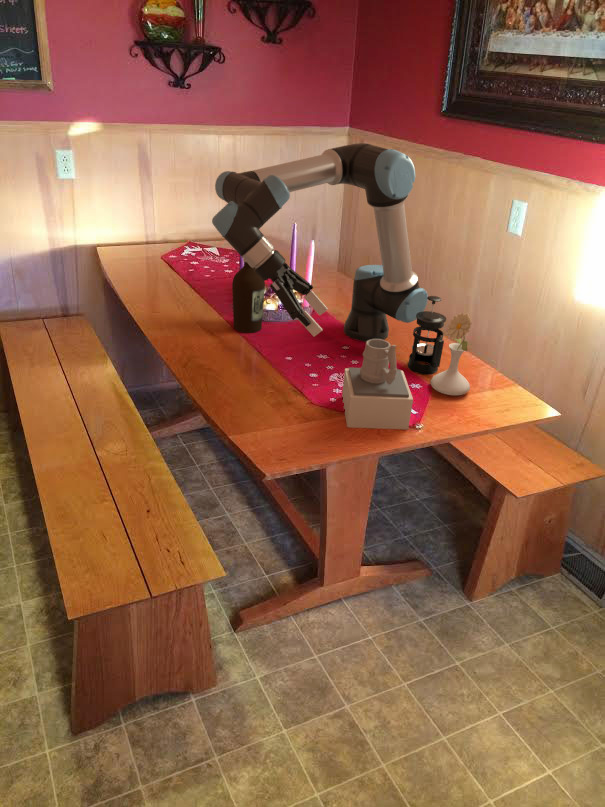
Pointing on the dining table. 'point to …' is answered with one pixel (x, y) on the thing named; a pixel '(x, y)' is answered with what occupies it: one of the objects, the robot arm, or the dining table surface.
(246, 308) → the olive oil
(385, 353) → the mug
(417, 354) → the french press
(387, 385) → the stand
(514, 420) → the dining table surface
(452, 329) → the flower in vase
